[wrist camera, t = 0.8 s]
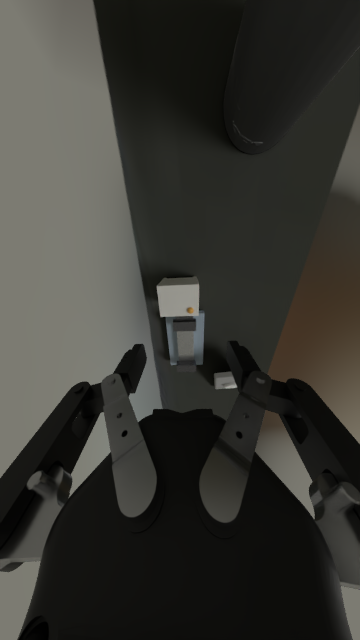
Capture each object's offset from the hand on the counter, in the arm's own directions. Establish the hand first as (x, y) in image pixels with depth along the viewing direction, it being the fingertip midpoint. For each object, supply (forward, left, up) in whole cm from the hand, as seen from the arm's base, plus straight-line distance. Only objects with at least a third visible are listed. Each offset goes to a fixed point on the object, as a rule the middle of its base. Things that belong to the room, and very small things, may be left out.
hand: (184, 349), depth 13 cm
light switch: (+13, +19, -17) cm, 28 cm away
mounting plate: (+9, +4, -17) cm, 19 cm away
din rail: (+9, +4, -15) cm, 18 cm away
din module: (-1, -2, -17) cm, 17 cm away
